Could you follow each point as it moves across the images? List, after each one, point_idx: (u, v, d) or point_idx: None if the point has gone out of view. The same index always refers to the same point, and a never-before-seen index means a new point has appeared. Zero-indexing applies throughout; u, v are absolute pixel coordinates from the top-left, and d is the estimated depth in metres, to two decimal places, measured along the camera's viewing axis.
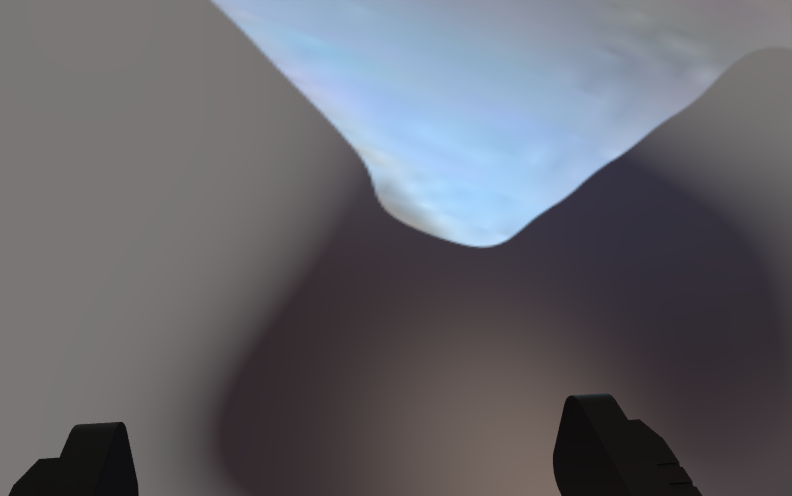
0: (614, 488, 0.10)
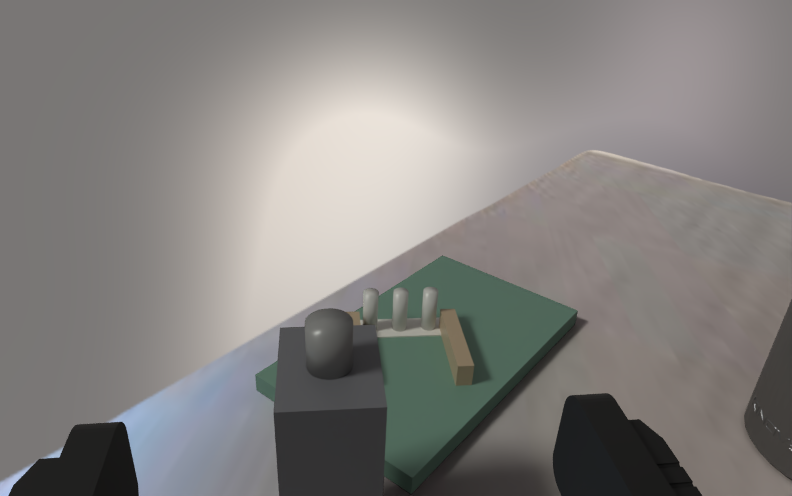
0: (614, 488, 0.10)
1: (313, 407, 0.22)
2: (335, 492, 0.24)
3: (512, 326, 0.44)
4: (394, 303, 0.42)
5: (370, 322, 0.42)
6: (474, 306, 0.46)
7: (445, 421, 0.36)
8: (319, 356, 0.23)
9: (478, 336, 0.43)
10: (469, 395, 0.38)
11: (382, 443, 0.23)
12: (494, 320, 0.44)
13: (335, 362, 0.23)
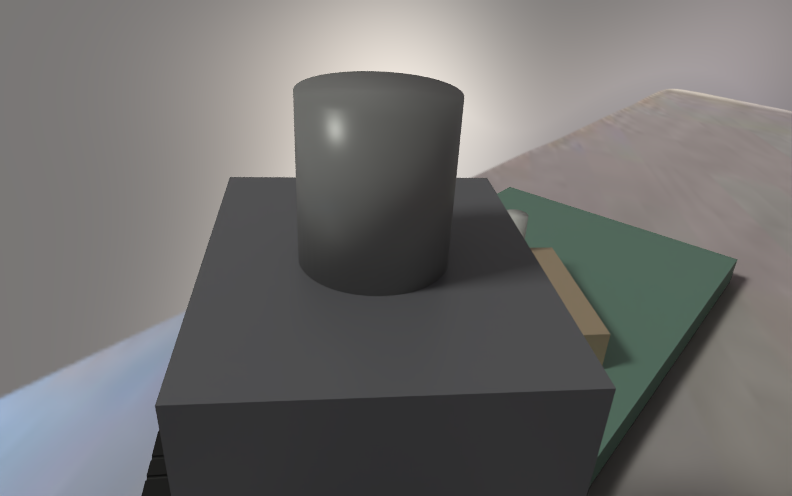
0: None
1: (325, 388, 0.06)
2: None
3: (641, 279, 0.27)
4: None
5: None
6: (572, 250, 0.29)
7: None
8: (345, 204, 0.06)
9: (590, 293, 0.26)
10: None
11: None
12: (611, 271, 0.27)
13: (401, 230, 0.07)
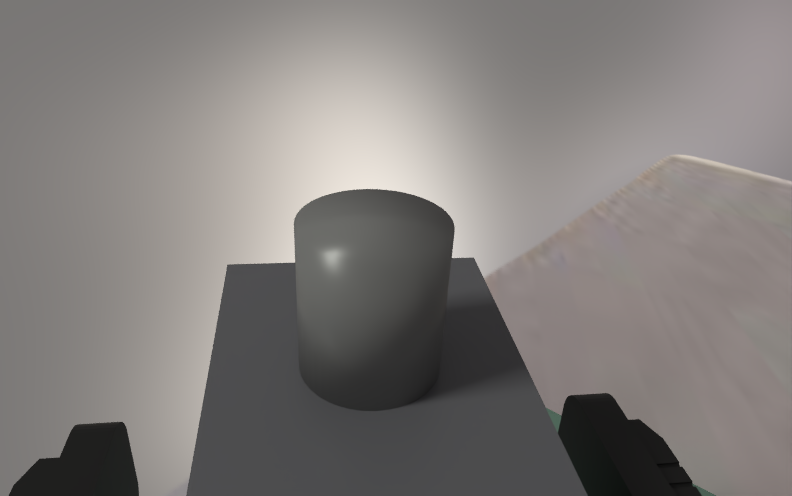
0: (614, 488, 0.10)
1: None
2: None
3: None
4: None
5: None
6: None
7: None
8: (345, 334, 0.07)
9: None
10: None
11: None
12: None
13: (397, 354, 0.07)
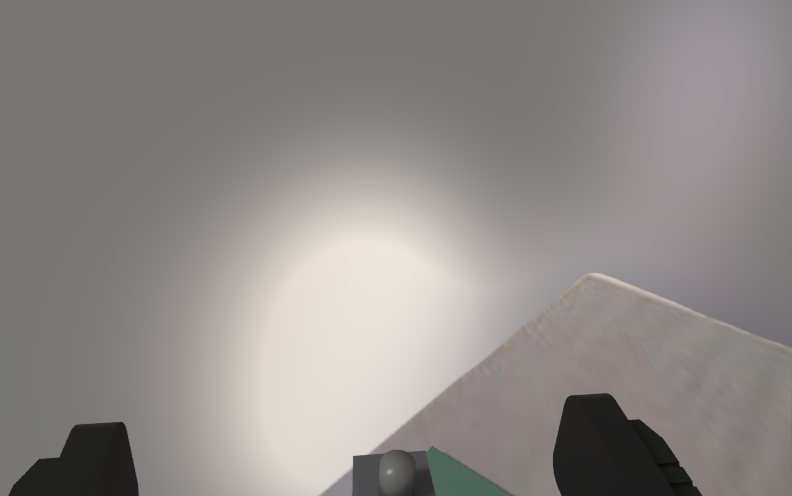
0: (614, 488, 0.10)
1: None
2: None
3: None
4: None
5: None
6: None
7: None
8: (391, 490, 0.31)
9: None
10: None
11: None
12: None
13: (403, 493, 0.31)
